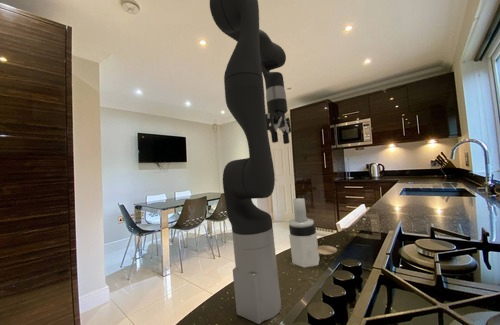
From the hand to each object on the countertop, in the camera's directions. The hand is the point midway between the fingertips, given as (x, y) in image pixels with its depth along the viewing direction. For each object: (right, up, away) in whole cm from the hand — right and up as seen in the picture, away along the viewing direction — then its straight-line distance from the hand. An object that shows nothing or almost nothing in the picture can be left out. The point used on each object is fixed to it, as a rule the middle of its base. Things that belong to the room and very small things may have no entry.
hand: (281, 142), depth 78 cm
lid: (+5, -27, -12) cm, 30 cm away
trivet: (+15, -39, -5) cm, 42 cm away
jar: (+6, -39, -13) cm, 42 cm away
